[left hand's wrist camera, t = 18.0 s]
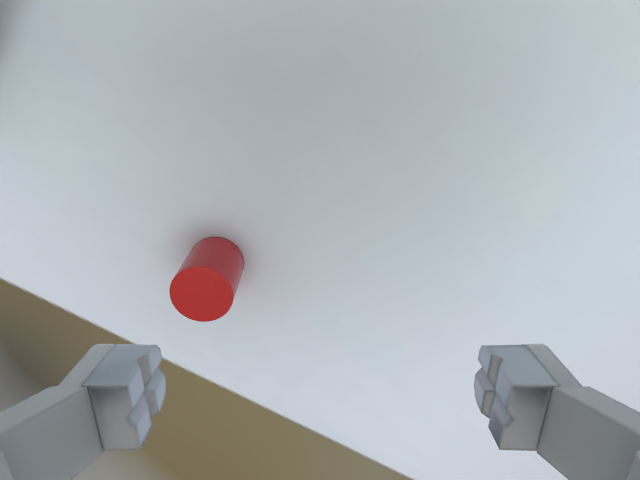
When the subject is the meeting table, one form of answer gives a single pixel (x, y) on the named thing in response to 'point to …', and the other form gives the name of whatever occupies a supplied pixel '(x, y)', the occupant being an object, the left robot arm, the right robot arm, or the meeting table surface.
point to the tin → (207, 280)
